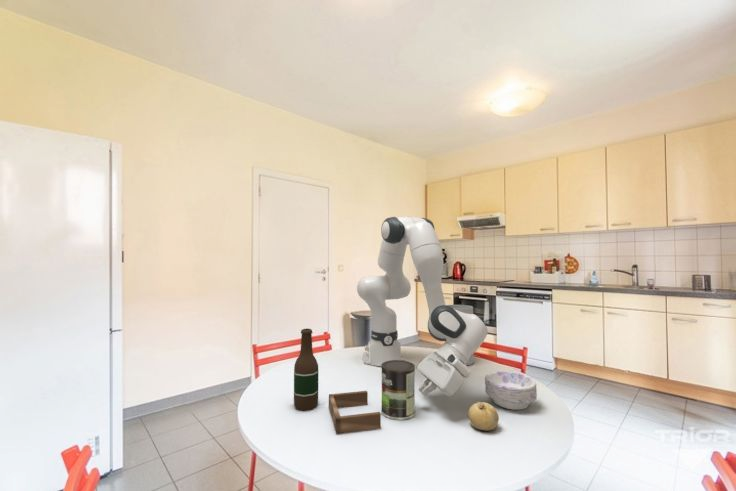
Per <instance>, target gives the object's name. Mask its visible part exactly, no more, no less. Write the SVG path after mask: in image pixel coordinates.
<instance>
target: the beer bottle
mask: <svg viewBox="0 0 736 491" xmlns="http://www.w3.org/2000/svg"><path fill="white" fill-rule="evenodd" d="M300 330H301V331H300V334H301V335H300V336H301V339H300V350H299V355H298V356H297V358H296V360H295V362H294V366H293V367H294V368H293V405H294V408H295V410H297V411H302V412H306V411H311V410H315V408H317V407H318V406H319V363H318V360H317V358H316V357H315V356H314V351H313V336H312V335H313V329H311V328H302V329H300Z"/></svg>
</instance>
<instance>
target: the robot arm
mask: <svg viewBox="0 0 736 491" xmlns="http://www.w3.org/2000/svg"><path fill="white" fill-rule="evenodd" d="M380 227H381V229H380V231H381V238H382V241H381V244H380V248H379V253H378V257H377V265H378V267H379V269H381V270H382V271H384V272H385V275H370V276H366V277H362V278H360V279H359V281H358V283H357V285H356V292H357V294H358V296H359V298H360V299H361V300H363V301H364V302H365V303H366V304H367V306H368V308H369V309H370V313H371V314H370V315H371V328H372V329H371V330H370V339H369V341H368V343H367V345H364V351H365V352H363V354H362V357H363V358H362V359H363V363H364V364H366V365H371V366H374V367H375V366H376V367H381V364H382V363H384V362H386V361H391V360H402V361H405V358H404V357H402V348H401V346H402V345H401V342H400V341H399V340H398V337H399V336H398V335H399V334H398V329H397V313H396V311H395V310H394V309H392V308H390V307H388V306H387V303H386V301H387V300H388V301H389V300H401V299H404V298H407V297H408V296H409V294H410V293H411V290H412V289H411V288H412V287H411V282H410V280H409V279H408V278H407V276H405V274H404V270H403V266H404V259H405V255H406V252H407V246H408V245H409V250H410V255H411V258H412V259H411V260H412V261H413V264H414V267H415V270H416V272H417V274H418V277H419V279H420V281H421V283H422V286H423V291H424V293H425V297H426V303H427V307H428V314H429V315H428V316H429V317H428V321H427V330H428V333H429V334H430V336H431V337H432V338H433V339H435V340H437V341H438V342H444V343H443V344H442V345H441V346H440V348H439V349H437V351H434V352H432V353H429V354H428V355H427V356H425V357H424V358H423V359H422V360H421V361H420V363H419V364H418V365H417V368H416V370H417V371H418V372H419V373H420V374H422V375H423V376H424V378H423V380H422V382H421V386H420V387H419V388H418V391H419V392H420V393H421V395H423V396H424V397H427V396H428V395H429V394H430V393H431V392H433V391H435V390H436V389H437V388H438V390H441V392H443V393H444V394H445V395H446V396H447V397H451V396H453V395H455V393H456V392H457V391H458V390H459V389H460V387H461V386H462V385H463V384H464V382H465V379H468V378H469V377H470V376H471V372H470V370H469V368H468V366H466V365H465V364H466V363H467V362H468V360H469V358H470V356H471V355H472V354H473V353H475V352H477V351H478V349H479V348H480V347H481V345H482V344H483V343H484V341H485V340H486V339H487V335H488V326H487V325H486V323H485V322H484V321H483V320H482V318H480V317H479V316H478V315H476V314H475V313H473V314H467V313H463V312H460V311H457V310H455V309H453V308H452V307H450V306H447V305H448V304H447V305H446V302H445V298H444V292H443V288H442V277H443V276H442V275H443V270H444V255H443V249H442V246H441V242H440V240H439V236H438V235H437V233H436V229H435V226H434V223H433V221H432V220H431V219H428V218H425V217H417V216H398V217H397V216H390V217H387V218H385V219H384V220H383V222H382V224H381V226H380ZM445 341H446V342H445Z"/></svg>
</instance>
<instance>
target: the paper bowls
mask: <svg viewBox="0 0 736 491" xmlns="http://www.w3.org/2000/svg"><path fill="white" fill-rule="evenodd" d="M484 385H485V386H484V387H485V388H484V391H485V394H486V395H487V396H488V397H489V398H491V399H492V400H493V402H494V404H496V405H498V406H499V407H501V408H504V409H508V410H512V411H513V410H514V411H517V410H524V409H526V408H528V407H529V405H530V404H531V403H534V402H536V400H537V398H538V397H537V396H538V395H537V394H538V393H537V383H536V381H535V379H533V378H532V377H530V376H528V375H525V374H521V373H518V372H513V371H505V370H503V371H493V372H489V373H487V374H485V377H484Z"/></svg>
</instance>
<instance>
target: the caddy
mask: <svg viewBox="0 0 736 491" xmlns="http://www.w3.org/2000/svg"><path fill="white" fill-rule="evenodd" d="M368 395H369V394H368V391H367V390H359V391H350V392H339V393H331V394H330V393H328V409H329V413H330V416H331V419H332V423H333V428H334V430H335V433H336V434H335V435H342V434H350V433H357V432H366V431H367V432H368V431H375V430H379V429H380V430H381V427H382V425H381V424H382V423H381V421H382V417H381V415H382V412H381V411H373V412H366V413H358V414H350V415H349V414H348V415H341V414H340V410H339V409H344V408H350V407H351V408H352V407H360V406H361V407H362V406H368V405H369V404H368V402H369V401H368V398H369V396H368Z"/></svg>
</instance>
